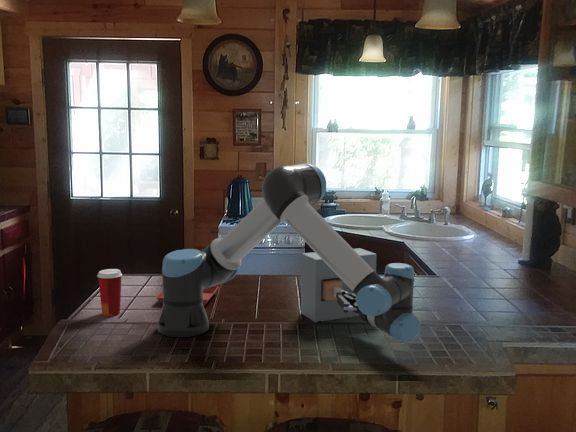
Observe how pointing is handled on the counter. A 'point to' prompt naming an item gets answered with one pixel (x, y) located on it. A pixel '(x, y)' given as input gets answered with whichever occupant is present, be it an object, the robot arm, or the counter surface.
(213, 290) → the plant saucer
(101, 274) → the paper cup
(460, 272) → the counter surface
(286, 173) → the robot arm
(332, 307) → the box
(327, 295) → the rust button
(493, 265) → the counter surface
